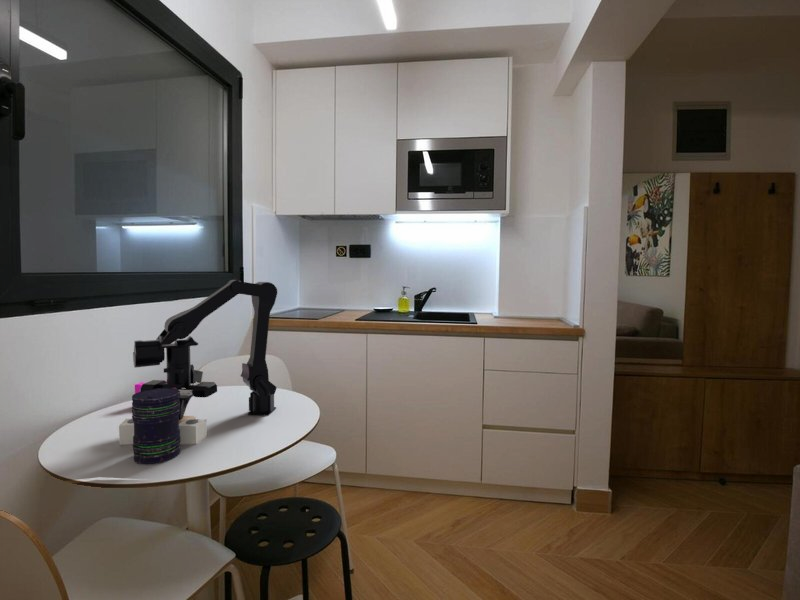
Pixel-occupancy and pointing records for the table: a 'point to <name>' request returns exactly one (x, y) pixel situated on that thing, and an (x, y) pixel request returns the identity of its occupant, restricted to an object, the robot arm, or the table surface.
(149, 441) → the storage jar
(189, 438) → the marked cube
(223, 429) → the table surface
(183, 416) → the beige rounded disc
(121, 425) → the marked cube
